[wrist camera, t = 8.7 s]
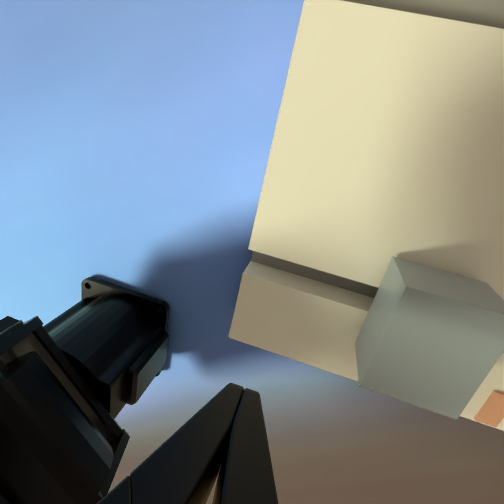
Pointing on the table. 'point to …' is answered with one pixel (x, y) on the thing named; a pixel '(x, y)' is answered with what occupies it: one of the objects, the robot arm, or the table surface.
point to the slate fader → (430, 337)
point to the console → (378, 174)
